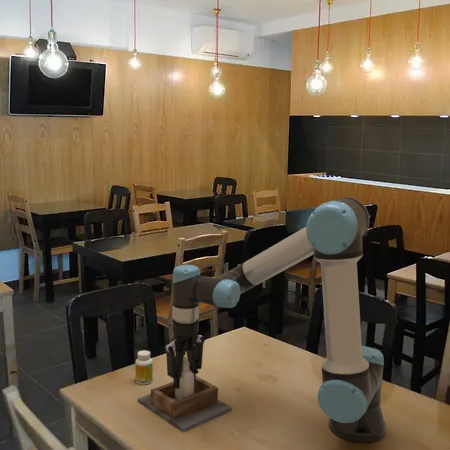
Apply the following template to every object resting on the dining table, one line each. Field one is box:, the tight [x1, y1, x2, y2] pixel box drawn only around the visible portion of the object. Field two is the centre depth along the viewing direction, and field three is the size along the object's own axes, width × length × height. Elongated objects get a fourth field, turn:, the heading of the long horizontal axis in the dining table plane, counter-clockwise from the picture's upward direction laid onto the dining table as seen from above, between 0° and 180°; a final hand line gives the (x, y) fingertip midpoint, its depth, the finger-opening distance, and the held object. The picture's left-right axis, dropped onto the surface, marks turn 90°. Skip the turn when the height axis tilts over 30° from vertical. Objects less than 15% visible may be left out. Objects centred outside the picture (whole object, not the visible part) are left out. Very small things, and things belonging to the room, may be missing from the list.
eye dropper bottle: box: [181, 356, 193, 398], centre depth 162 cm, size 4×6×12 cm
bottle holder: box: [137, 375, 233, 433], centre depth 163 cm, size 22×18×6 cm
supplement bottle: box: [135, 349, 153, 385], centre depth 178 cm, size 5×5×10 cm
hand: (184, 395), depth 163 cm, fingers closed on eye dropper bottle, 3 cm apart
